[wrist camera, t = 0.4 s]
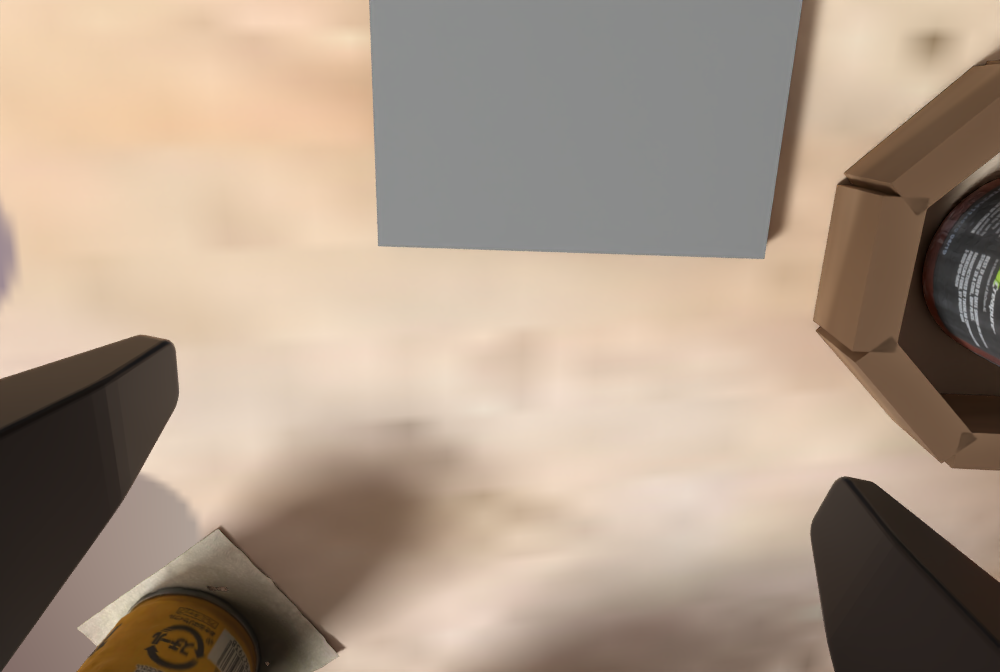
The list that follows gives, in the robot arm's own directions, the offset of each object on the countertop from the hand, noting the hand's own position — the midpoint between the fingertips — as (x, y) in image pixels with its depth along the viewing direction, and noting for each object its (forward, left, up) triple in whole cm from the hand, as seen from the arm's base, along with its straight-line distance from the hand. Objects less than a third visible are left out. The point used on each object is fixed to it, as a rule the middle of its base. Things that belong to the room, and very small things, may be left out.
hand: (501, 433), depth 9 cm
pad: (+6, -1, -14) cm, 15 cm away
